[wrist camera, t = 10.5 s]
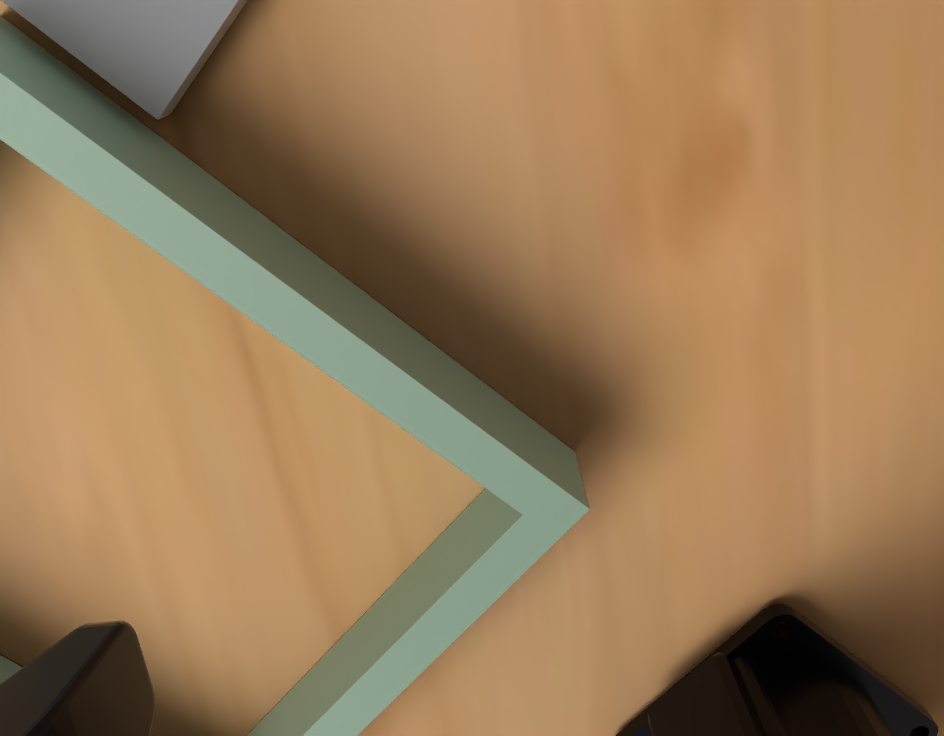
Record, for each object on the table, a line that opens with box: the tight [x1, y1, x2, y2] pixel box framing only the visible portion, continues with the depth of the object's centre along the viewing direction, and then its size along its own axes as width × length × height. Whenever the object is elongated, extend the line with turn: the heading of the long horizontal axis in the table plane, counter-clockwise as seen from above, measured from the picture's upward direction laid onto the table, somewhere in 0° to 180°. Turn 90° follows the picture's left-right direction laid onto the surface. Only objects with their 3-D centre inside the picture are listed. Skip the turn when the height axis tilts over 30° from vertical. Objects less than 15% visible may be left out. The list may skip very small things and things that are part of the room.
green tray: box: [0, 16, 590, 736], centre depth 20 cm, size 15×15×2 cm
